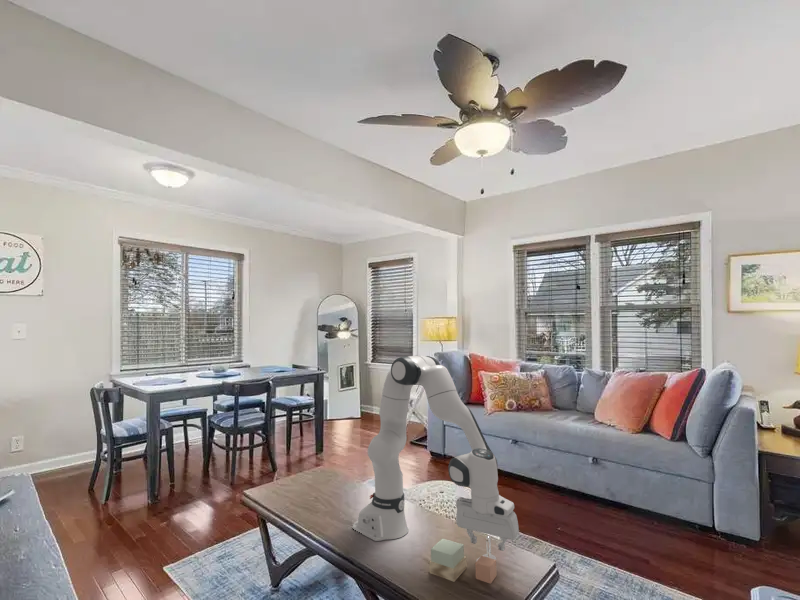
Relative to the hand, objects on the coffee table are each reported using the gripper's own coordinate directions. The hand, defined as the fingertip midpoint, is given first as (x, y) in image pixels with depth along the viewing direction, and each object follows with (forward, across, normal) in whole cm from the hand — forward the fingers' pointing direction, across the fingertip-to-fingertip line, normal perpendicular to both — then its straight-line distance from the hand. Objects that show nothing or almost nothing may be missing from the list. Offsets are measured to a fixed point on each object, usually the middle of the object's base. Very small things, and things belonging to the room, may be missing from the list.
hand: (487, 546), depth 140 cm
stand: (+10, -4, +9) cm, 14 cm away
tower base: (+10, -13, -3) cm, 16 cm away
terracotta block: (+10, -1, 0) cm, 10 cm away
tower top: (+6, -13, -3) cm, 14 cm away
